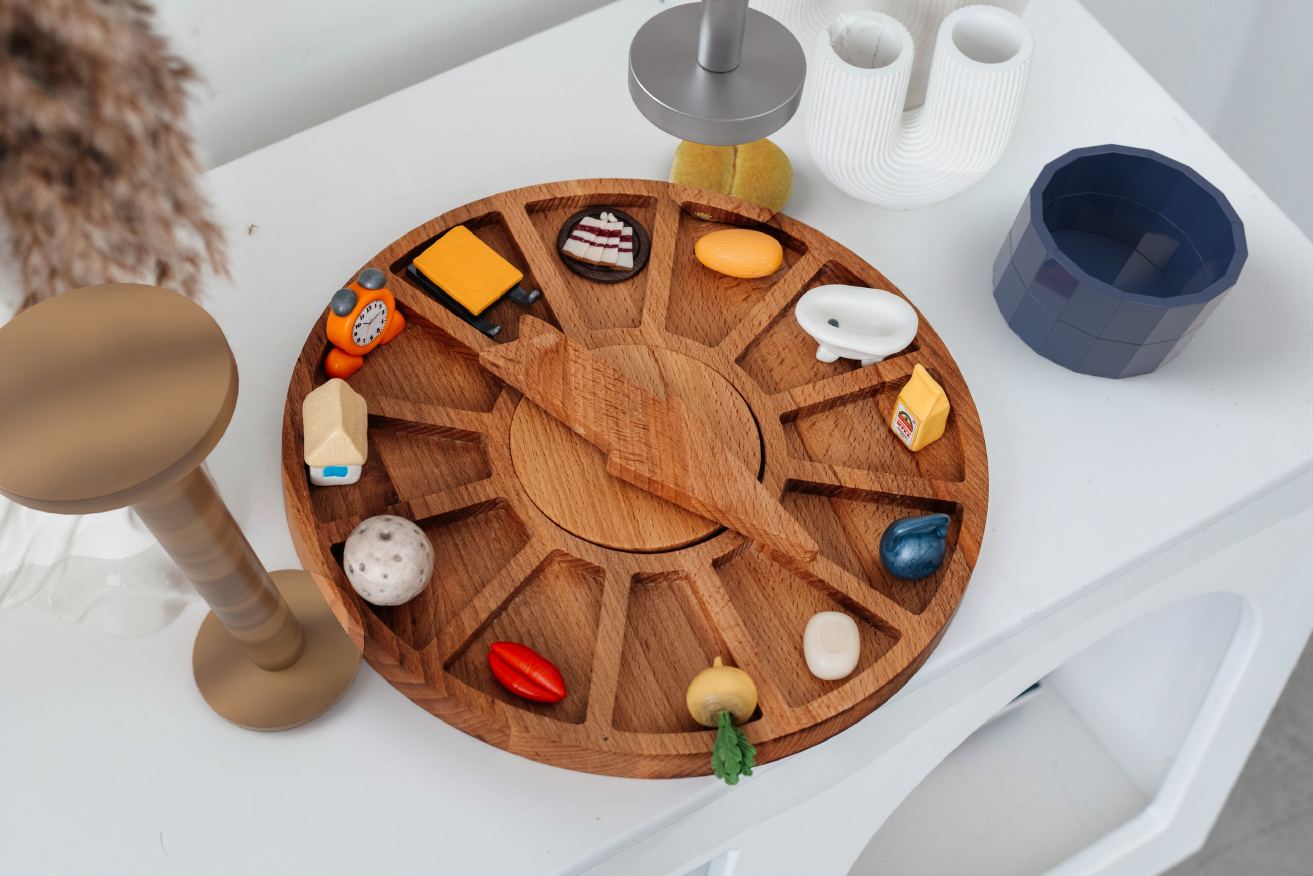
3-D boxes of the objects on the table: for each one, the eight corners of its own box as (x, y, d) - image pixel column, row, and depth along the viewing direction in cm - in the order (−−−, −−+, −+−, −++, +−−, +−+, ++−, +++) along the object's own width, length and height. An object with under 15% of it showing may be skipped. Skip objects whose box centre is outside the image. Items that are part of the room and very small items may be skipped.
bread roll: (786, 239, 76) (795, 199, 73) (661, 222, 77) (664, 181, 73) (794, 156, 81) (803, 115, 77) (675, 140, 81) (679, 98, 77)
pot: (1227, 323, 75) (1291, 245, 68) (1094, 415, 70) (1148, 342, 63) (1082, 200, 80) (1128, 117, 73) (950, 278, 75) (986, 197, 68)
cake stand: (394, 670, 59) (275, 415, 37) (239, 766, 56) (6, 551, 34) (319, 546, 62) (169, 245, 40) (169, 630, 59) (-83, 354, 37)
